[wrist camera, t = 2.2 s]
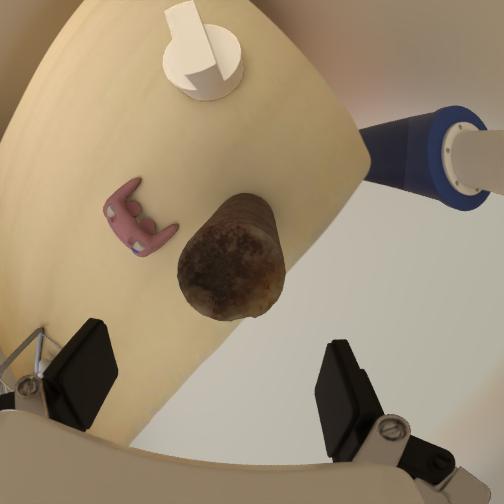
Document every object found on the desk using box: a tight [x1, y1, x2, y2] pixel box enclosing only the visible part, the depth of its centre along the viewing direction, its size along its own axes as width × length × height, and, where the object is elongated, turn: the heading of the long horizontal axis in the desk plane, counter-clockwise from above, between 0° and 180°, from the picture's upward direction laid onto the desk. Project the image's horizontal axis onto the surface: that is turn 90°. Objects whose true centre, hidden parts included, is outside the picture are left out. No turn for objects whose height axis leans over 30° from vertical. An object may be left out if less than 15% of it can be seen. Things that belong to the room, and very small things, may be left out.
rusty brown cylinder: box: [177, 193, 286, 321], centre depth 27 cm, size 8×7×20 cm
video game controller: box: [103, 178, 178, 257], centre depth 34 cm, size 10×5×7 cm, turn 38°
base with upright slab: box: [163, 1, 244, 101], centre depth 24 cm, size 9×9×12 cm
